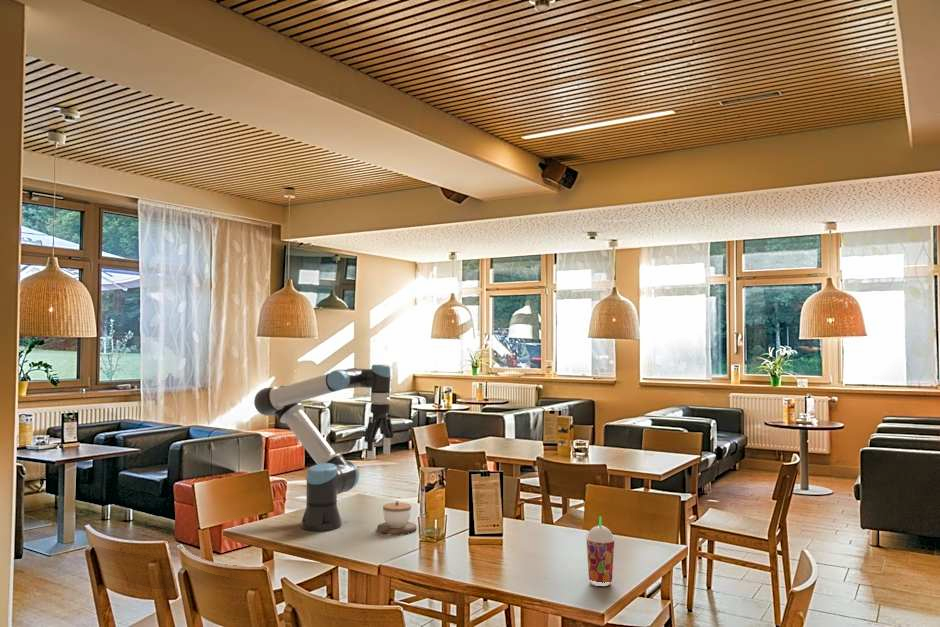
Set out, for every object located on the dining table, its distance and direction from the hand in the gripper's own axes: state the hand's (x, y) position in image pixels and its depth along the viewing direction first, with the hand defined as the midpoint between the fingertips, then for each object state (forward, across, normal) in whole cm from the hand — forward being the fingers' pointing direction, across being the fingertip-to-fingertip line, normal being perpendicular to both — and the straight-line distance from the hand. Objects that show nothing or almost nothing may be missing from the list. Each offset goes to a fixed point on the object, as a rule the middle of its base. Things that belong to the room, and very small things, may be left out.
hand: (378, 456), depth 288 cm
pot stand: (+26, -7, -12) cm, 30 cm away
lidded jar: (+25, -7, -12) cm, 29 cm away
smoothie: (+24, -40, -97) cm, 107 cm away
